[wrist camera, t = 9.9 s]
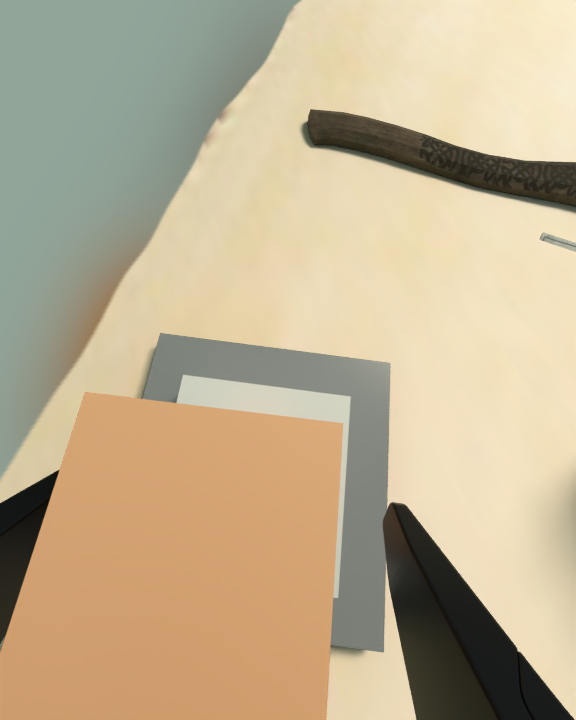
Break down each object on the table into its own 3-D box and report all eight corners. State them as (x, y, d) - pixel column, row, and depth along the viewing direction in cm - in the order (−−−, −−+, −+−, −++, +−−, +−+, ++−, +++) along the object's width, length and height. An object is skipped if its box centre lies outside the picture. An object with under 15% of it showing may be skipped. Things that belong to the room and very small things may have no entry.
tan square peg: (287, 513, 16) (322, 781, 3) (215, 505, 16) (-28, 738, 3) (295, 439, 17) (343, 423, 4) (227, 431, 17) (85, 391, 4)
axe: (324, 67, 25) (681, 166, 23) (321, 98, 27) (642, 190, 25) (278, 177, 23) (658, 294, 21) (280, 199, 26) (619, 306, 24)
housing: (375, 636, 15) (405, 694, 12) (98, 599, 15) (43, 646, 12) (383, 367, 20) (407, 350, 16) (167, 339, 20) (142, 316, 16)
